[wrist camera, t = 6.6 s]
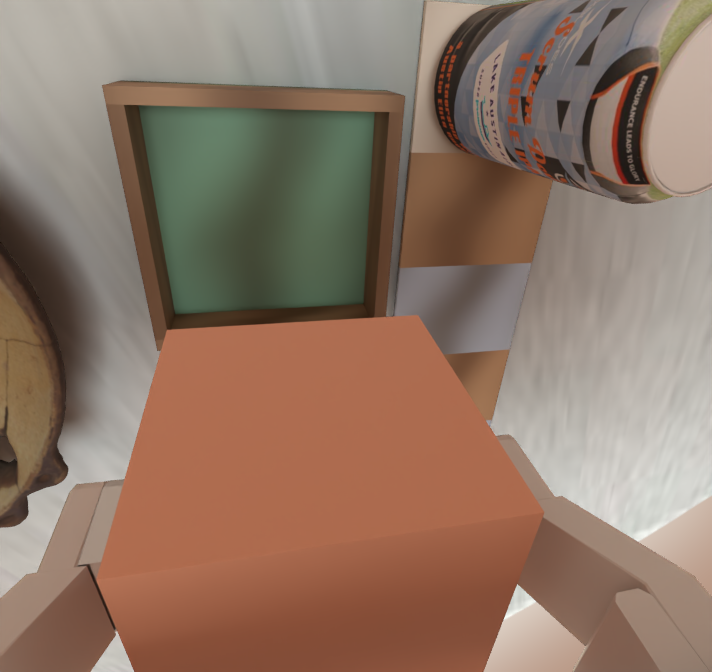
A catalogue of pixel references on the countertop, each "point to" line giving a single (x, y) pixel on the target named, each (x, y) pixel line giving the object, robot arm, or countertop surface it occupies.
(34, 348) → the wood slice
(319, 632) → the cube
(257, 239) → the tray
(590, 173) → the beverage can
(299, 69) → the countertop surface
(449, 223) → the board
